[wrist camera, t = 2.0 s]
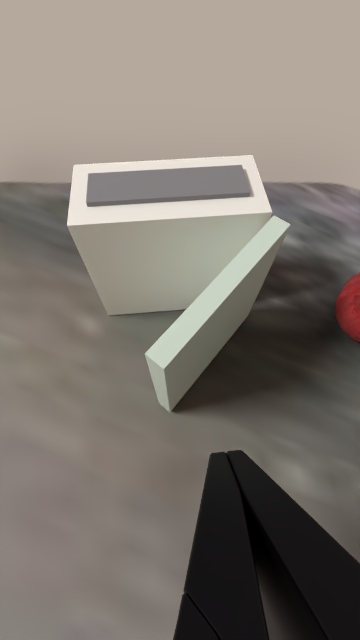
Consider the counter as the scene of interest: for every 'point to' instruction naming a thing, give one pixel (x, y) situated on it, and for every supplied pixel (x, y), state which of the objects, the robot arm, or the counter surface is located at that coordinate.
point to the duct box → (163, 226)
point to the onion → (349, 308)
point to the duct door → (212, 317)
